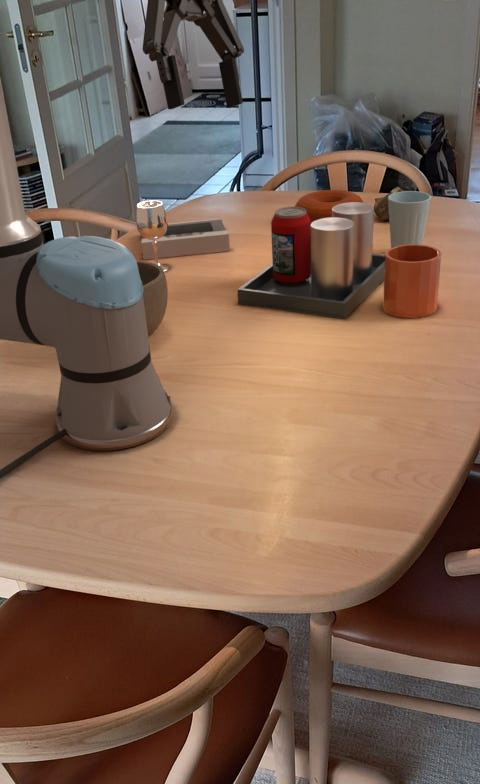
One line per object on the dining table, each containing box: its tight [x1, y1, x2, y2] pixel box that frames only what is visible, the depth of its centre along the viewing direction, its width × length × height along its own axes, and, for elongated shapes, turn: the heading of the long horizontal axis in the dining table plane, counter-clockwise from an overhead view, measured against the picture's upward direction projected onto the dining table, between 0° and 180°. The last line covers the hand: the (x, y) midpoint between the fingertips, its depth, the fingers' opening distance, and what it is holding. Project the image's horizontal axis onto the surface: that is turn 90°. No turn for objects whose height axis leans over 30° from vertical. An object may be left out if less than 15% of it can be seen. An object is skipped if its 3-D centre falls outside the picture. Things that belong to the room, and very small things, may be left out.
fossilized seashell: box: [373, 186, 405, 221], centre depth 174 cm, size 8×7×10 cm
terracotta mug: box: [382, 244, 442, 319], centre depth 134 cm, size 12×9×9 cm
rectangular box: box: [140, 218, 231, 261], centre depth 170 cm, size 17×5×16 cm
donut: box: [294, 189, 365, 227], centre depth 175 cm, size 15×15×5 cm
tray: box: [236, 253, 385, 320], centre depth 145 cm, size 24×20×3 cm
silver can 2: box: [332, 202, 375, 284], centre depth 144 cm, size 7×7×12 cm
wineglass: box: [135, 200, 170, 272], centre depth 155 cm, size 6×6×12 cm
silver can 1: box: [310, 217, 354, 301], centre depth 137 cm, size 7×7×12 cm
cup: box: [388, 190, 432, 248], centre depth 154 cm, size 8×8×10 cm
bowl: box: [136, 260, 169, 338], centre depth 131 cm, size 17×18×10 cm
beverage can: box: [270, 206, 311, 285], centre depth 144 cm, size 7×7×12 cm
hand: (206, 106), depth 127 cm, fingers open, 13 cm apart
